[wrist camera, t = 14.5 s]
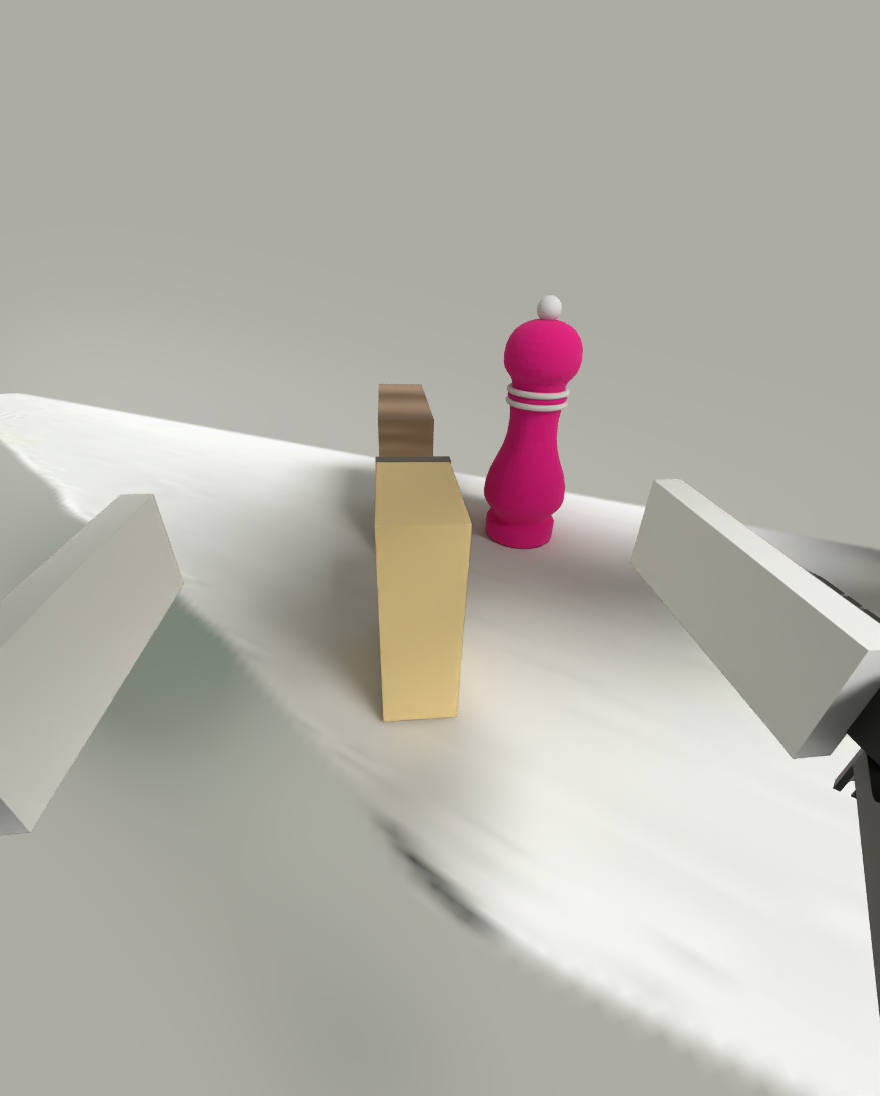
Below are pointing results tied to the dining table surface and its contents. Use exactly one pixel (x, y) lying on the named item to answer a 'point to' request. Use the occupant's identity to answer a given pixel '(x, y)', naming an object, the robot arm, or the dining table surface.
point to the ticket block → (404, 421)
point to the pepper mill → (532, 430)
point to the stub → (420, 585)
